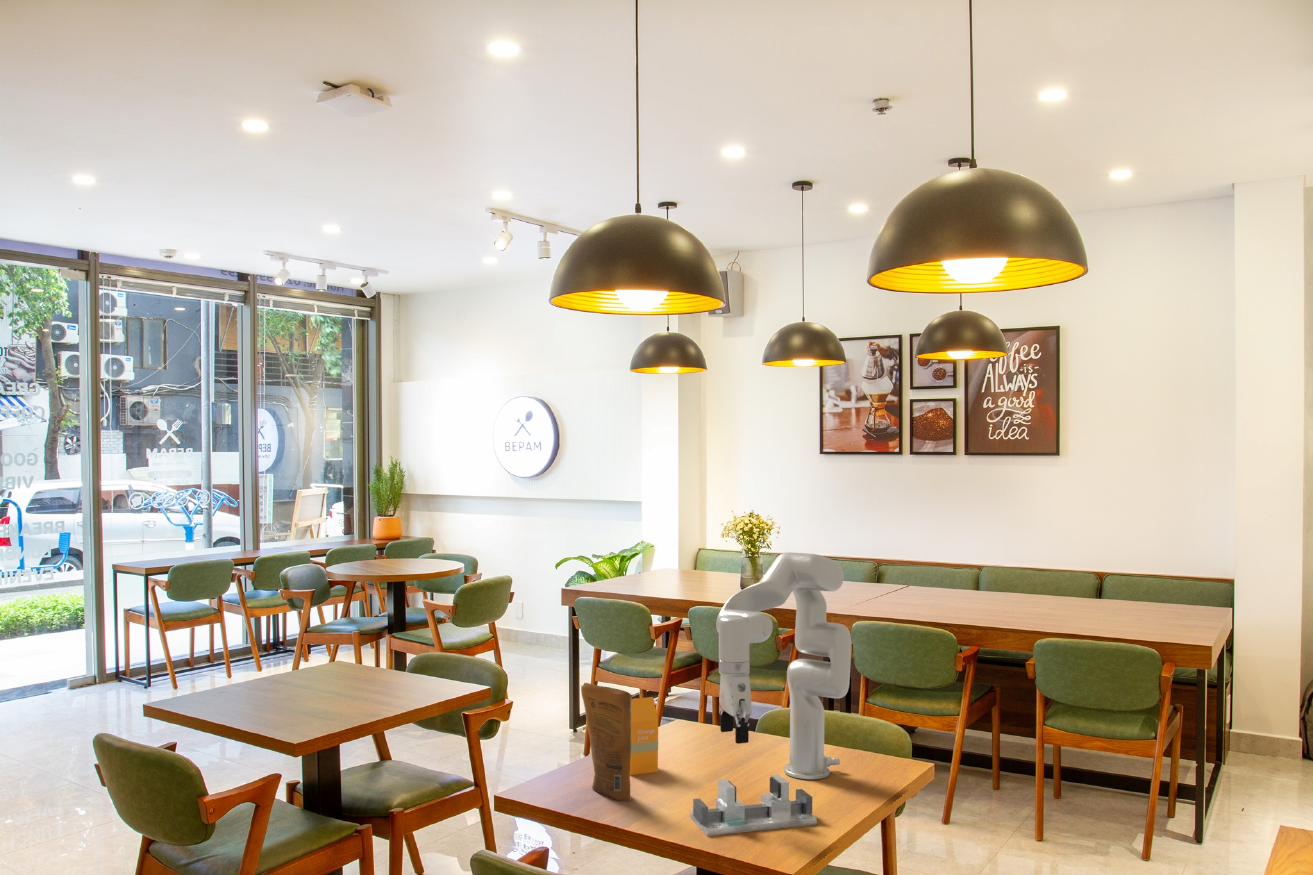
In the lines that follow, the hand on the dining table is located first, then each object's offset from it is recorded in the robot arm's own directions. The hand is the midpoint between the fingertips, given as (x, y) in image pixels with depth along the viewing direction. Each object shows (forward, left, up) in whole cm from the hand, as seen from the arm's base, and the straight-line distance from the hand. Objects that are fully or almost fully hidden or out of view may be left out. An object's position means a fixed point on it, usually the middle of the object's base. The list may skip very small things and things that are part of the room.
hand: (734, 736), depth 230 cm
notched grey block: (+2, +3, -18) cm, 18 cm away
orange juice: (+12, -42, -20) cm, 48 cm away
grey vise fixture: (-4, +3, -19) cm, 20 cm away
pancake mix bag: (+25, -25, -20) cm, 40 cm away
